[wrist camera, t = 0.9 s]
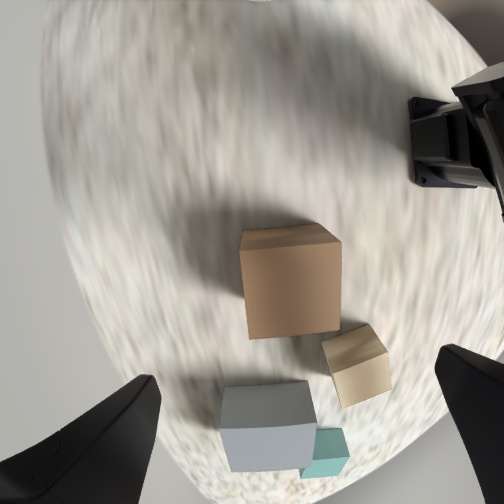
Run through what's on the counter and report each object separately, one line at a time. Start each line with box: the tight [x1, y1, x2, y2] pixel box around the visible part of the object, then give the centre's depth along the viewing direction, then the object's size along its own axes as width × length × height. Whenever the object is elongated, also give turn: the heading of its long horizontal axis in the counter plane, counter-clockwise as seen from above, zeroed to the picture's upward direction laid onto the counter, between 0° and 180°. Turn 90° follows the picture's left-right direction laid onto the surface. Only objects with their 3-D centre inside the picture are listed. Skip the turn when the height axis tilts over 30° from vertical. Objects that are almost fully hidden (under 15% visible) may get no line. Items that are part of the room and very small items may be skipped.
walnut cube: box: [239, 224, 342, 340], centre depth 17 cm, size 5×5×5 cm
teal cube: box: [299, 428, 350, 479], centre depth 23 cm, size 4×4×4 cm
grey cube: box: [219, 381, 317, 472], centre depth 21 cm, size 7×7×5 cm
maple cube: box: [321, 324, 391, 409], centre depth 19 cm, size 4×4×4 cm
